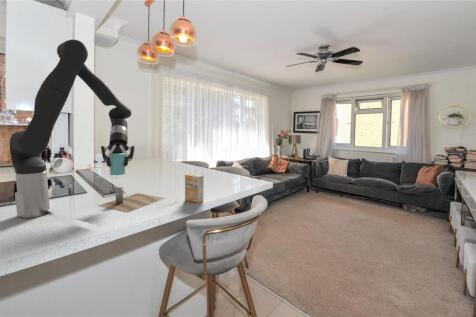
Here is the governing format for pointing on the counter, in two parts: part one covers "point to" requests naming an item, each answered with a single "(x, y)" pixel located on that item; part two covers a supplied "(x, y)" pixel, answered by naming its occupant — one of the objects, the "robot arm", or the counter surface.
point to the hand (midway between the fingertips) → (117, 165)
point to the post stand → (129, 201)
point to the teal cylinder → (117, 163)
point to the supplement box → (194, 187)
